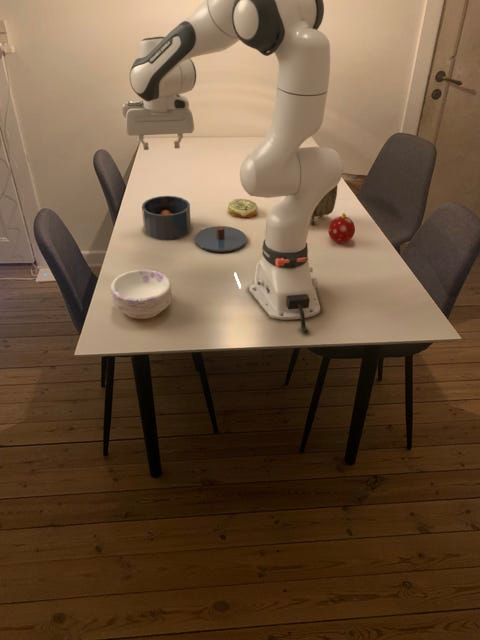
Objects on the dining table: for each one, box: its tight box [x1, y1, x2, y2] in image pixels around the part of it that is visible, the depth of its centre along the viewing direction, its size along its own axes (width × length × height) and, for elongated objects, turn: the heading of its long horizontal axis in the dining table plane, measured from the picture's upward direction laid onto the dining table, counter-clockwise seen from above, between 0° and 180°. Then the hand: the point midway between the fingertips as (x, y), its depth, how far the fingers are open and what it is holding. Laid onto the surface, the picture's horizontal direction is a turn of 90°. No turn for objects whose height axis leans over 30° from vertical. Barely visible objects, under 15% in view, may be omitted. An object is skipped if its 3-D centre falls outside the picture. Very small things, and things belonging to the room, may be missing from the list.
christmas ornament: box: [327, 212, 356, 244], centre depth 158 cm, size 9×9×10 cm
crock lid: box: [194, 225, 247, 253], centre depth 158 cm, size 17×17×5 cm
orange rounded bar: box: [160, 210, 173, 215], centre depth 164 cm, size 11×5×4 cm, turn 12°
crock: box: [141, 195, 192, 241], centre depth 163 cm, size 16×16×8 cm
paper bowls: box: [110, 269, 173, 320], centre depth 126 cm, size 15×15×8 cm
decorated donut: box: [227, 198, 259, 218], centre depth 176 cm, size 10×11×4 cm
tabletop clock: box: [310, 185, 338, 226], centre depth 164 cm, size 14×9×25 cm, turn 108°
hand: (161, 148), depth 149 cm, fingers open, 8 cm apart
